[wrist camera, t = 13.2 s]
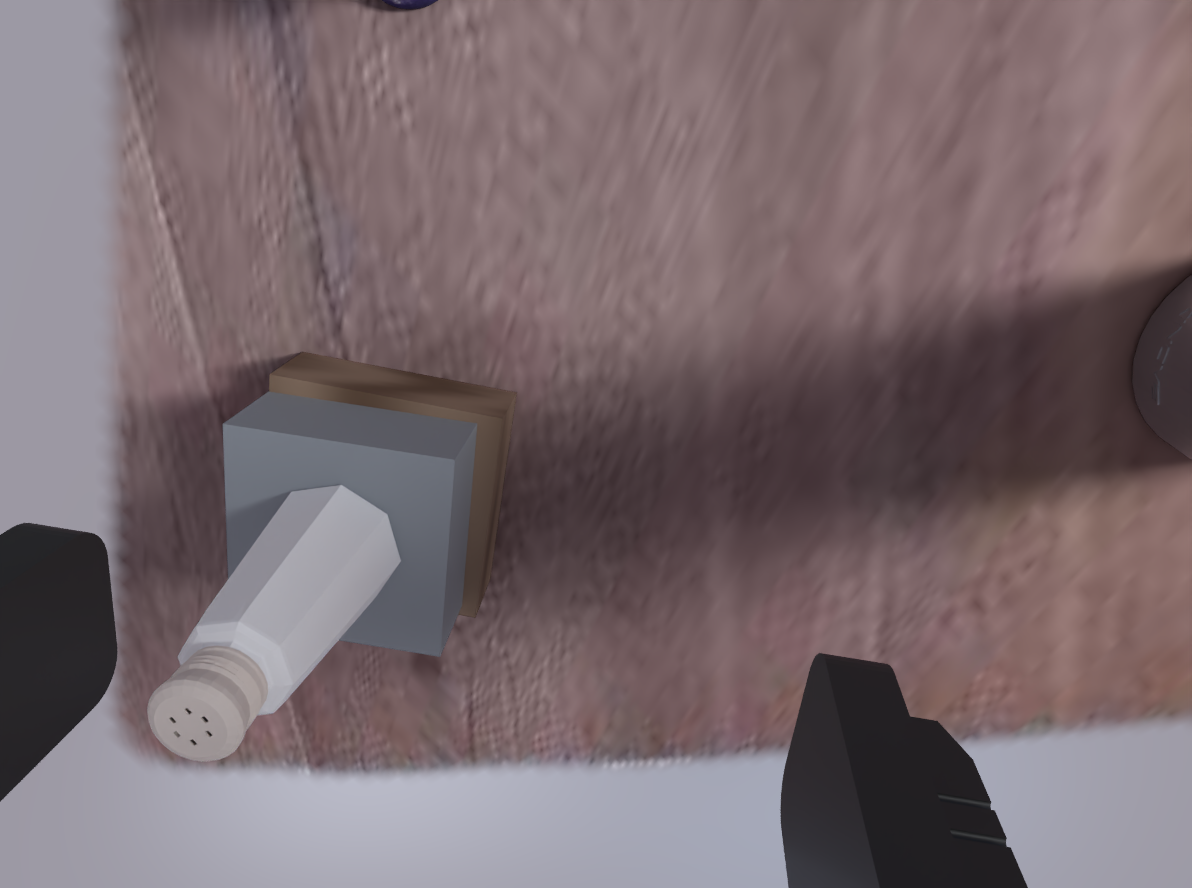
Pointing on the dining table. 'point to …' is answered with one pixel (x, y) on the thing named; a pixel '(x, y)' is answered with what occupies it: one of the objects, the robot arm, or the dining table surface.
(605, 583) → the dining table surface
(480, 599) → the walnut base block
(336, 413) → the grey top block
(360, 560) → the pepper shaker
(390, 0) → the toy lamp
